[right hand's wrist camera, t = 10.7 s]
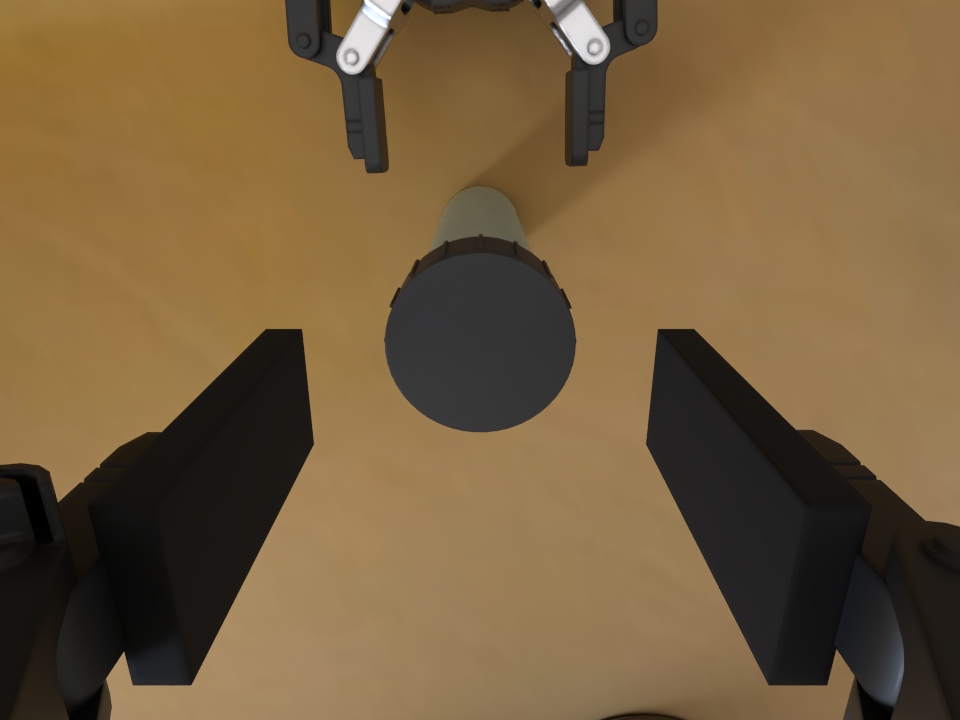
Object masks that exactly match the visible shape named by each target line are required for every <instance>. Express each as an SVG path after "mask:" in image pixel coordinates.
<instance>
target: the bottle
mask: <svg viewBox="0 0 960 720" xmlns="http://www.w3.org/2000/svg"><path fill="white" fill-rule="evenodd" d="M479 234H483V236H487V237H494V238H500V239H503V240H507V241H510V242H514V241H517V242H518V245H520V246H521V247H523V248H525V249H526V250H528V251H530V252H531V250H530V248H529V245H528V242H527V240H526V237H525V234H524V232H523V229H522V226H521V224H520V221H519V219H518V216H517V213H516V211H515V208H514V206H513V204H512V203H511V202H510V200H509V199H508V198H507V197H506V196H505V195H504V194H503V193H501V192H500V191H498V190H496V189H493V188H490V187H486V186H475V187H470V188H467V189H465V190H462V191H461V192H459V193H458V194H456V195H455V196H454V197H453V198H452V199H451V201H450V202H449V203H448V205H447V207H446V209H445V211H444V214H443V217H442V219H441V222H440V225H439V227H438V230H437V233H436V235H435V238H434V241H433V243H432V246H431V249H430V251H429V253H430V252H431V251H432V250H434V249H436V248H438V247H439V246H441V245H443V243H444V241H446V240H448V242H451V241H453V240H457V239H461V238H466V237H474V236H479Z"/></svg>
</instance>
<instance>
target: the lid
mask: <svg viewBox="0 0 960 720" xmlns="http://www.w3.org/2000/svg"><path fill="white" fill-rule="evenodd" d="M389 307H391V308H392V310H391V312H390V315H389V318H388V322H387V326H386V333H385V338H384V342H385V352H386V358H387V363H388V366H389V369H390V372H391V375H392V377H393V379H394V381H395V383H396V385H397V387H398V388H399V390H400V391H401V393H402V394H403V396H404V397H405V398H406V399H407V400H408V401H409V402H410V404H412V405H413V406H414V407H415V408H416V409H417V410H418V411H419V412H421V413H422V414H424V415H425V416H427V417H428V418H430V419H432V420H433V421H435V422H437V423H439V424H442V425H444V426H447V427H450V428H453V429H457V430H461V431H469V432H492V431H499V430H503V429H507V428H511V427H513V426H516V425H519V424H521V423H523V422H525V421H527V420H529V419H531V418H532V417H534V416H535V415H537V414H538V413H540V412H541V411H542V410H543V409H545V408H546V407H547V406H548V405H549V404H550V403H551V402H552V401H553V400H554V399H555V397H556V396H557V395H558V394H559V392H560V391H561V389H562V388H563V386H564V384H565V382H566V380H567V379H568V377H569V374H570V371H571V368H572V365H573V361H574V356H575V347H576V337H575V328H574V323H573V319H572V316H571V313H570V310H569V309H570V308H572V307H571V305H570V303H569V301H568V298H567V296H566V294H565V292H564V290H563V288H562V289H560V288H559V286H558V284H557V282H556V280H555V278H554V277H553V275H552V274H551V272H550V270H549V267H548V265H547V263H546V262H545V261H544V260H543V261H541V260H540V259H539V258H537V257H536V256H535V255H534V254H532V253H531V252H530V251H528V250H526V249H525V248H523V247H521V246H520V245H518V242H517V241H514V242H510V241H507V240H503V239H500V238H494V237H487V236H483V234H479V236H474V237H466V238H461V239H457V240H453V241H451V242H448V240H446V241H444V243H443V245H441V246H439V247H438V248H436V249H434V250H432V251H431V252H430V253H428V254H427V255H426V256H424V257H423V258H422V259H421V260H420V261H419V260H418V259H417V260H416V261H415V263H414V265H413V267H412V270H411V272H410V273H409V274H408V276H407V278H406V280H405V281H404V283H403V285H402V287H401V288H399V287H398V289H397V291H396V293H395V295H394V298H393V300H392V302H391V304H390V306H389Z"/></svg>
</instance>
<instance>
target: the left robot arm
mask: <svg viewBox="0 0 960 720" xmlns="http://www.w3.org/2000/svg"><path fill="white" fill-rule="evenodd" d="M522 1H523V0H362V4H361V8H360V10H359V12H358V14H357V16H356V18H355V19H354V21H353V23H352V25H351V26H350V28H349V30H348V32H347V34H346V35H345V37H344V38H343V37H340V36H337V35H334V34H332V24H331V5H330V0H285V3H286V17H287V30H288V42H289V46H290V48H291V50H292V51H293V53H294V54H296V55H297V56H299V57H301V58H304V59H307V60H310V61H313V62H316V63H319V64H322V65H325V66H327V67H330V68H331V69H333V70H334V71H335V72H336V73H337V75H338V76H339V78H340V80H341V84H342V92H343V102H344V111H345V120H346V131H347V140H348V147H349V149H350V151H351V153H352V156H353V158H354V159H365V167H366V171H367V173H384V172H386V171H388V168H389V160H388V148H387V136H386V124H385V112H384V100H383V88H382V80H381V79H379V78H376V71H375V70H376V68H377V66H378V65H379V63H380V61H381V59H382V58H383V56H384V54H385V53H386V51H387V49H388V48H389V46H390V44H391V42H392V41H393V39H394V38H395V36H396V35H397V34H398V33H399V32H400V30H401V29H402V28H403V26H404V24H405V23H406V21H407V19H408V17H409V16H410V14H411V12H412V11H413V9H414V7H415V6H416V4H417V3H418V4H419V5H420V6H422V7H423V8H425V9H428V10H431V11H433V12H434V14H446V13H455V12H458V11H460V10H463V9H466V8H469V7H475V8H479V9H483V10H487V11H490V12H493V11H509V10H510V8H511V7H514V6H516V5H518V4H519V3H521V2H522ZM527 1H528V2H529V3H530V5H531V6H532V8H533V9H534V11H535V12H536V13H537V15H538V16H539V18H540V19H541V21H542V22H543V23H544V24H545V26H546V27H547V28H549V29H550V30H551V32H552V33H553V34H554V36H555V37H556V39H557V40H558V42H559V43H560V44H561V46H562V47H563V49H564V50H565V52H566V53H567V54H568V56H569V57H570V59H571V71H569V72H567V73H566V91H565V162H566V165H568V166H586V165H587V162H588V151H598V150H599V148H600V146H601V143H602V141H603V138H604V116H605V113H604V111H605V82H606V71H607V68H608V66H609V64H610V63H611V61H612V60H613V59H614V58H616V57H617V56H619V55H621V54H624V53H626V52H628V51H631V50H634V49H636V48H638V47H640V46H642V45H645V44H647V43H649V42H650V41H651V40H652V39H653V38H654V36H655V35H656V32H657V0H613V20H614V22H613V23H611V24H608V25H606V26H604V27H602V28H601V27H600V25H599V24H598V22H597V21H596V19H595V18H594V16H593V15H592V13H591V12H590V10H589V9H588V7H587V6H586V4H585V3H584V1H583V0H527Z"/></svg>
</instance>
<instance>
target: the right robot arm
mask: <svg viewBox="0 0 960 720" xmlns="http://www.w3.org/2000/svg"><path fill="white" fill-rule="evenodd" d="M313 445H314V440H313V431H312V421H311V411H310V402H309V392H308V382H307V373H306V363H305V354H304V344H303V334H302V329H266V330H265V331H264V332H263V333H262V334H261V335H260V336H259V337H258V338H257V339H256V340H255V341H254V342H252V343H251V344H250V345H249V346H248V347H247V348H246V349H245V350H244V351H243V352H242V353H241V354H240V355H239V356H238V357H237V358H236V359H235V360H234V361H233V362H232V363H231V364H230V365H229V366H228V367H227V368H226V369H225V370H224V371H223V372H222V373H221V374H220V375H219V376H218V377H217V378H216V379H215V380H214V381H213V382H212V383H211V384H210V385H209V386H208V387H207V388H206V389H205V390H204V391H203V392H202V393H201V394H200V395H199V396H198V397H197V398H196V399H195V400H194V401H193V402H192V403H191V404H190V405H189V406H188V407H187V408H186V409H185V410H184V411H183V412H182V413H181V414H180V415H179V416H178V417H177V418H176V419H175V420H174V421H173V422H172V423H171V424H170V425H169V426H168V427H167V428H166V429H165V430H164V431H163V432H147V433H145V434H143V435H141V436H139V437H137V438H135V439H134V440H132V441H130V442H128V443H126V444H124V445H122V446H120V447H119V448H117V449H116V450H115V451H114V452H113V453H112V454H111V455H110V456H109V457H108V458H106V459H105V460H104V461H103V462H102V463H101V464H100V468H96V469H94V470H93V471H92V472H91V473H90V474H89V475H88V476H87V477H86V478H85V479H84V483H79V484H78V485H77V486H76V487H75V488H74V489H73V490H71V491H70V492H69V493H68V494H67V495H66V496H65V497H64V498H63V499H62V500H61V501H59V502H58V501H57V498H56V494H55V490H54V487H53V483H52V479H51V476H50V472H49V471H47V470H46V469H44V468H42V467H41V466H39V465H31V464H23V463H19V464H7V465H0V720H110V715H111V709H112V705H111V698H110V692H109V688H108V685H107V681H106V678H107V676H108V675H109V673H110V672H111V670H112V669H113V667H114V666H115V664H116V663H117V661H118V660H119V658H120V657H121V655H122V654H123V652H125V656H126V660H127V664H128V668H129V672H130V676H131V680H132V684H133V685H192V683H193V681H194V679H195V677H196V675H197V673H198V671H199V669H200V667H201V665H202V663H203V661H204V659H205V657H206V655H207V653H208V651H209V649H210V647H211V645H212V643H213V642H214V640H215V638H216V636H217V634H218V632H219V630H220V628H221V626H222V624H223V622H224V620H225V618H226V616H227V614H228V612H229V610H230V608H231V606H232V604H233V602H234V600H235V598H236V596H237V594H238V592H239V590H240V588H241V586H242V584H243V583H244V581H245V579H246V577H247V575H248V573H249V571H250V569H251V567H252V565H253V563H254V561H255V559H256V557H257V555H258V553H259V551H260V549H261V547H262V545H263V543H264V541H265V539H266V537H267V535H268V533H269V531H270V529H271V527H272V525H273V524H274V522H275V520H276V518H277V516H278V514H279V512H280V510H281V508H282V506H283V504H284V502H285V500H286V498H287V496H288V494H289V492H290V490H291V488H292V486H293V484H294V482H295V480H296V478H297V476H298V474H299V472H300V470H301V468H302V466H303V465H304V463H305V461H306V459H307V457H308V455H309V453H310V451H311V449H312V447H313ZM646 445H647V447H648V449H649V451H650V453H651V455H652V457H653V459H654V461H655V463H656V465H657V466H658V468H659V470H660V472H661V474H662V476H663V478H664V480H665V482H666V484H667V486H668V488H669V490H670V492H671V494H672V496H673V498H674V500H675V502H676V504H677V506H678V508H679V510H680V512H681V514H682V516H683V518H684V520H685V522H686V524H687V525H688V527H689V529H690V531H691V533H692V535H693V537H694V539H695V541H696V543H697V545H698V547H699V549H700V551H701V553H702V555H703V557H704V559H705V561H706V563H707V565H708V567H709V569H710V571H711V573H712V575H713V577H714V579H715V581H716V583H717V584H718V586H719V588H720V590H721V592H722V594H723V596H724V598H725V600H726V602H727V604H728V606H729V608H730V610H731V612H732V614H733V616H734V618H735V620H736V622H737V624H738V626H739V628H740V630H741V632H742V634H743V636H744V638H745V640H746V642H747V643H748V645H749V647H750V649H751V651H752V653H753V655H754V657H755V659H756V661H757V663H758V665H759V667H760V669H761V671H762V673H763V675H764V677H765V679H766V681H767V683H768V685H827V684H828V680H829V676H830V672H831V668H832V664H833V660H834V656H835V652H836V649H837V650H838V652H839V653H840V655H841V656H842V658H843V659H844V661H845V662H846V664H847V665H848V666H849V668H850V669H851V671H852V672H853V674H854V675H855V677H854V681H853V685H852V688H851V692H850V696H849V699H848V703H847V707H846V710H845V714H844V718H843V720H960V527H959V526H955V525H951V524H948V523H941V522H931V521H925V520H924V519H923V518H922V517H921V516H920V515H918V514H917V513H916V512H915V511H914V510H913V509H912V508H911V507H910V506H909V505H907V504H906V503H905V502H904V501H903V500H902V499H901V498H900V497H899V496H898V495H896V494H895V493H894V492H893V491H892V490H891V489H890V488H889V487H888V486H886V485H885V484H884V483H883V482H882V481H881V480H877V479H876V476H875V475H874V474H873V473H872V472H871V471H870V470H869V469H868V468H867V467H865V466H864V465H861V464H860V461H859V460H858V459H857V458H856V457H854V456H853V455H852V454H851V453H850V452H849V451H848V450H847V449H846V448H844V447H843V446H842V445H841V444H839V443H837V442H835V441H833V440H831V439H829V438H827V437H825V436H824V435H822V434H820V433H818V432H816V431H814V430H795V429H794V428H793V427H792V426H791V425H790V424H789V423H788V422H787V421H786V420H785V419H784V418H783V417H782V416H781V415H780V414H779V413H778V412H777V411H776V410H775V409H774V408H773V407H772V406H771V405H770V404H769V403H768V402H767V401H766V400H765V399H764V398H763V397H762V396H761V395H760V394H759V393H758V392H757V391H756V390H755V389H754V388H753V387H752V386H751V385H750V384H749V383H748V382H747V381H746V380H745V379H744V378H743V377H742V376H741V375H740V374H739V373H738V372H737V371H736V370H735V369H734V368H733V367H732V366H731V365H730V364H729V363H728V362H727V361H726V360H725V359H724V358H723V357H722V356H721V355H720V354H719V353H718V352H717V351H716V350H715V349H714V348H713V347H712V346H711V345H710V344H709V343H708V342H706V341H705V340H704V339H703V338H702V337H701V336H700V335H699V334H698V333H697V332H696V331H695V330H694V329H658V334H657V344H656V354H655V363H654V373H653V383H652V392H651V402H650V412H649V421H648V431H647V441H646ZM610 720H677V719H673V718H668V717H661V716H650V715H638V716H627V717H620V718H615V719H610Z"/></svg>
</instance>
